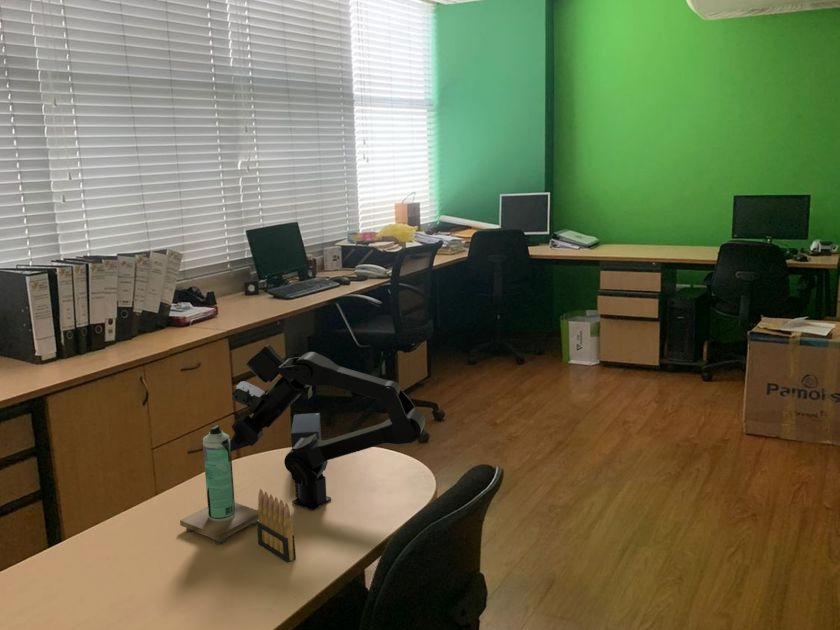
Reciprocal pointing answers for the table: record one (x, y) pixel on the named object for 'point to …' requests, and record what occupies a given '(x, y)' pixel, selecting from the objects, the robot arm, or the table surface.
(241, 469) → the table surface
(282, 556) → the ammunition clip
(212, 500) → the spray can
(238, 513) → the flat square brown plate
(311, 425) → the small box
